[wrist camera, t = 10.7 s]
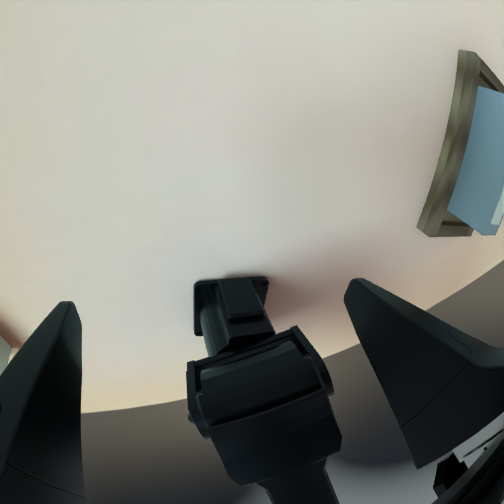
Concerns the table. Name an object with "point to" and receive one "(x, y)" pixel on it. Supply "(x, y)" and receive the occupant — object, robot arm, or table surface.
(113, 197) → the table surface
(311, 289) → the table surface
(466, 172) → the frame block
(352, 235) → the table surface
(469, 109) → the tray
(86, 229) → the table surface
